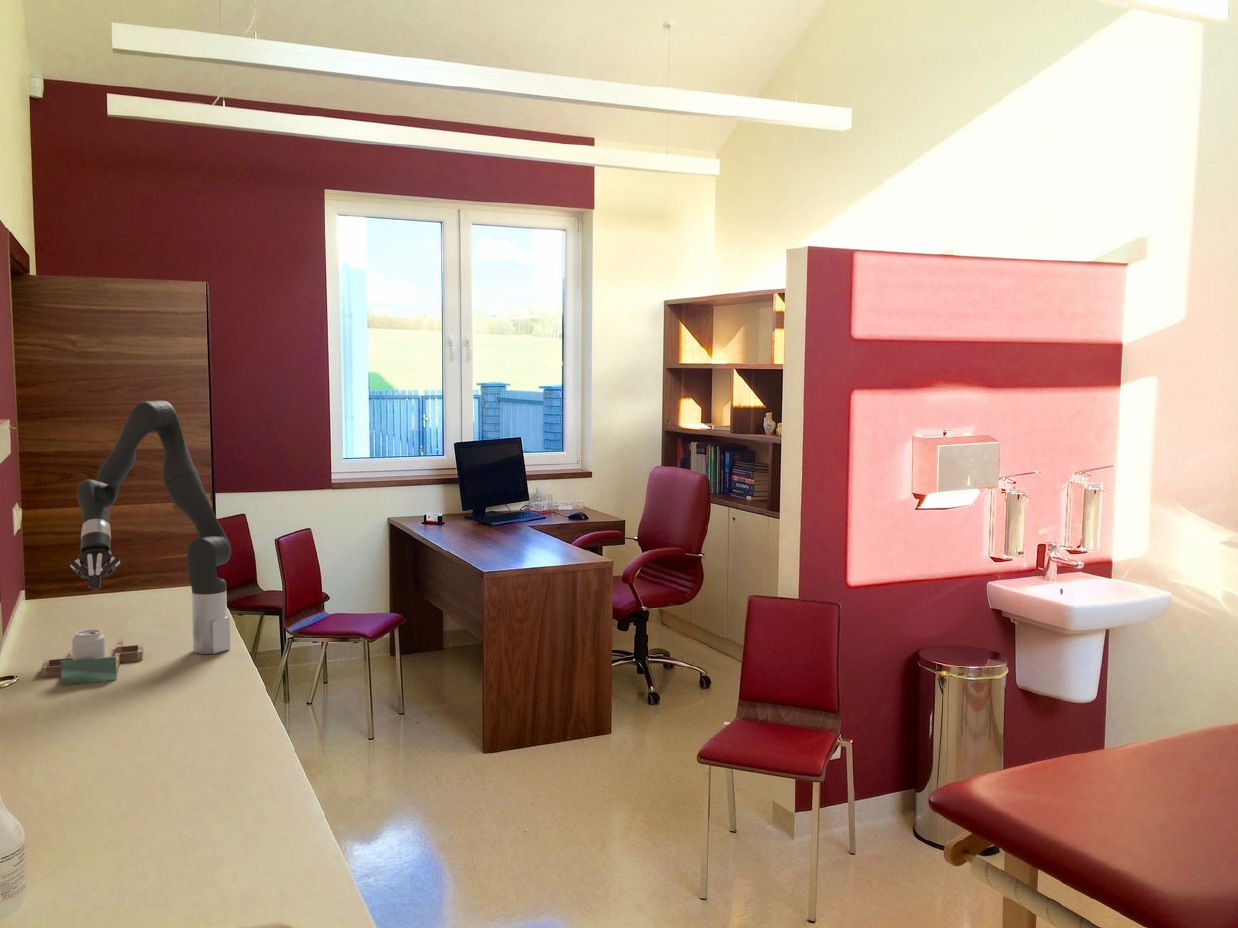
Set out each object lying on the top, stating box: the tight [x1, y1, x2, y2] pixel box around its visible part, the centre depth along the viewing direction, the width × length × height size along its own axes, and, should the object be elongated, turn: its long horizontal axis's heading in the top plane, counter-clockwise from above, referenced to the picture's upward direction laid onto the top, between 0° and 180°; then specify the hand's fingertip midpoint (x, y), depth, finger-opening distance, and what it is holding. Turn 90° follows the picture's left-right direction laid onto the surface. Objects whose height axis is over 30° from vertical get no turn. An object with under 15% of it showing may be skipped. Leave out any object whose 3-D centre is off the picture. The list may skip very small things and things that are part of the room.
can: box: [71, 629, 106, 660], centre depth 260 cm, size 8×8×12 cm
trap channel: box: [40, 638, 144, 686], centre depth 271 cm, size 35×24×6 cm
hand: (94, 589), depth 275 cm, fingers closed
